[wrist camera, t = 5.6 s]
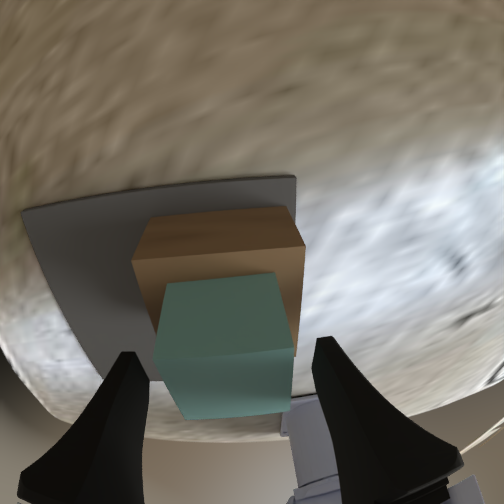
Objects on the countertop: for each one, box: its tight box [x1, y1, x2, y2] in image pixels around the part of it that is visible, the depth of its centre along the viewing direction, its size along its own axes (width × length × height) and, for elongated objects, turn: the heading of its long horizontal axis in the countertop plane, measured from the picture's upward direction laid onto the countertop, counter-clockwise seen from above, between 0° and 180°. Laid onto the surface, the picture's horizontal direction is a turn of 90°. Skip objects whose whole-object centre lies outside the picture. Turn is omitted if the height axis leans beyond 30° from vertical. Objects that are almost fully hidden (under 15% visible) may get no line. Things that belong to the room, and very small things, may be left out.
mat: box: [21, 175, 296, 381], centre depth 18 cm, size 16×16×1 cm
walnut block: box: [131, 206, 306, 357], centre depth 15 cm, size 7×7×4 cm
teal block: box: [152, 272, 294, 420], centre depth 12 cm, size 4×4×4 cm
